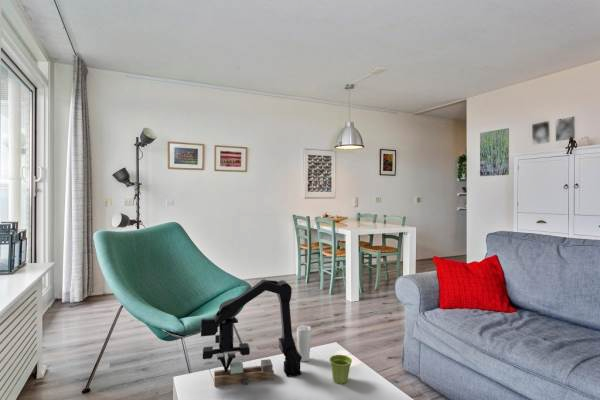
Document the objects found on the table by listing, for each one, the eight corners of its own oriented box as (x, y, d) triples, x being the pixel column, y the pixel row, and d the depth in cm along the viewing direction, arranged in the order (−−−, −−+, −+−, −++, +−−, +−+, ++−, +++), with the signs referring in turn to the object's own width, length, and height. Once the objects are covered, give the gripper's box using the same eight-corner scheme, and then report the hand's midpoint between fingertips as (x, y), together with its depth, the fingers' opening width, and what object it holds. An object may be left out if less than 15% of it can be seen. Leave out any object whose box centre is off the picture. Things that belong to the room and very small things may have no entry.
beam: (270, 371, 156) (270, 357, 156) (274, 381, 147) (274, 366, 147) (214, 377, 150) (214, 363, 150) (214, 388, 141) (214, 373, 141)
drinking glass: (309, 363, 163) (309, 331, 163) (295, 362, 164) (295, 329, 164) (311, 357, 170) (312, 325, 170) (298, 355, 171) (298, 324, 171)
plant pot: (354, 377, 150) (354, 357, 150) (347, 388, 142) (348, 366, 142) (333, 373, 154) (333, 353, 154) (326, 383, 146) (326, 361, 146)
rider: (241, 370, 151) (241, 360, 151) (243, 377, 145) (243, 366, 145) (229, 372, 149) (229, 361, 149) (230, 378, 144) (230, 367, 144)
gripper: (247, 325, 156) (246, 360, 156) (203, 328, 152) (202, 365, 152) (249, 334, 146) (249, 372, 146) (202, 338, 141) (202, 378, 141)
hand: (226, 371), depth 146 cm, fingers closed
